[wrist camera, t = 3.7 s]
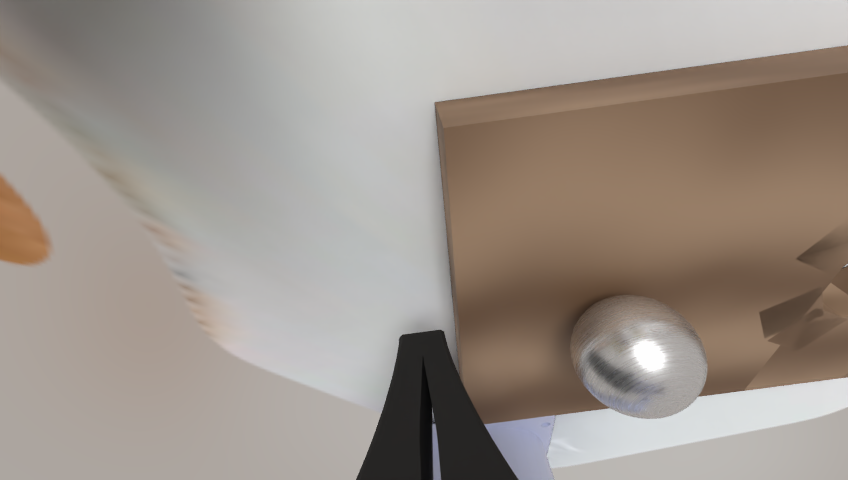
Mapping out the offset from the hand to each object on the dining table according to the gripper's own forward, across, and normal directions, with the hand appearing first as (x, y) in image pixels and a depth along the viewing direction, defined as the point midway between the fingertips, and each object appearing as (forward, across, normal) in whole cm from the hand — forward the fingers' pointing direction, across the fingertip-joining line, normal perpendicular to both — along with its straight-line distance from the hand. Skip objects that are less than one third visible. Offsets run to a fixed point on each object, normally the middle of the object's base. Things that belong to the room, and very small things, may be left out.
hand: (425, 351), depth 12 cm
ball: (-1, -6, 0) cm, 6 cm away
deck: (+3, -12, 0) cm, 12 cm away
